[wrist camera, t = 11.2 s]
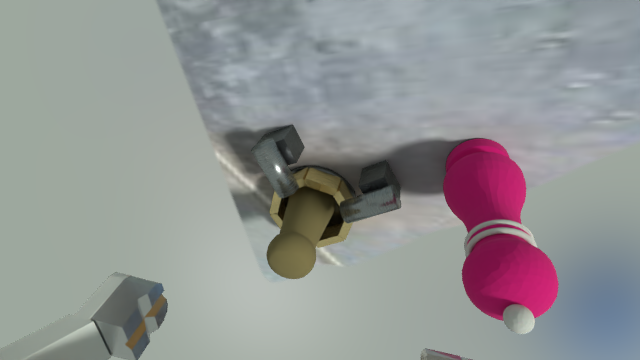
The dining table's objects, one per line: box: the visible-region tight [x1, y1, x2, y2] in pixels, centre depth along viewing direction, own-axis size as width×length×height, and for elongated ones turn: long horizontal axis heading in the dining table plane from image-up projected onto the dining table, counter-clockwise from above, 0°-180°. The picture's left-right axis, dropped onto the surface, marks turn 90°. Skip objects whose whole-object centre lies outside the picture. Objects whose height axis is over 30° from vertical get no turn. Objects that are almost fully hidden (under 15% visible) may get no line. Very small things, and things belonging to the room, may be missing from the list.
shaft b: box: [340, 161, 401, 224], centre depth 40 cm, size 6×4×6 cm, turn 120°
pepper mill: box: [443, 139, 558, 334], centre depth 30 cm, size 7×7×20 cm
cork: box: [267, 186, 336, 279], centre depth 41 cm, size 6×6×11 cm
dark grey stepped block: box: [251, 125, 304, 198], centre depth 40 cm, size 6×4×6 cm, turn 25°
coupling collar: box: [269, 166, 356, 248], centre depth 44 cm, size 10×10×3 cm
